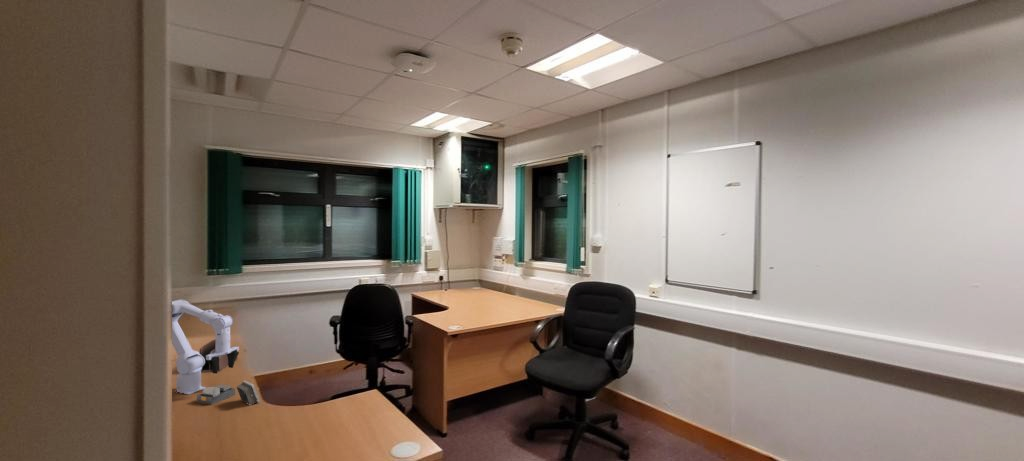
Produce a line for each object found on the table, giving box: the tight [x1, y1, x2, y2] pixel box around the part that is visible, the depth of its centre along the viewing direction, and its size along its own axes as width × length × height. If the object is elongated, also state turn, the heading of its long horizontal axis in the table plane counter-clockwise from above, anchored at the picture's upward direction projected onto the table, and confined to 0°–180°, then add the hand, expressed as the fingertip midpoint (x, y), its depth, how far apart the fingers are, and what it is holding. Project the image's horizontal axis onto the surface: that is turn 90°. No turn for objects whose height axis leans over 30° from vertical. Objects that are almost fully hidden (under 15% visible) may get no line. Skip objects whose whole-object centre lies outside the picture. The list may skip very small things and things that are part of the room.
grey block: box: [202, 386, 220, 397], centre depth 177 cm, size 6×3×5 cm, turn 73°
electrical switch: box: [236, 380, 260, 406], centre depth 176 cm, size 9×5×9 cm, turn 57°
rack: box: [196, 383, 236, 406], centre depth 180 cm, size 9×11×4 cm
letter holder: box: [199, 339, 238, 373], centre depth 222 cm, size 10×20×14 cm, turn 11°
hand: (223, 370), depth 188 cm, fingers open, 7 cm apart
